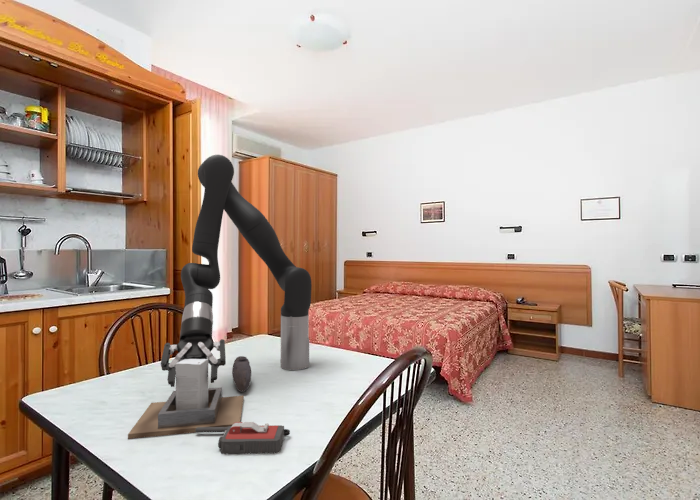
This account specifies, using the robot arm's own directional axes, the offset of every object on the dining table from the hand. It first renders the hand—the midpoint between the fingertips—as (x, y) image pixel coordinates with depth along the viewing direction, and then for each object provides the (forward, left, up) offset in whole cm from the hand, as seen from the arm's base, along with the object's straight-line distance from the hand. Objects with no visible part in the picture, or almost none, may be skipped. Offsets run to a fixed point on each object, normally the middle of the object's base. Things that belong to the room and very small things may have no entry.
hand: (192, 383), depth 85 cm
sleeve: (0, -1, -8) cm, 8 cm away
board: (0, -1, -8) cm, 8 cm away
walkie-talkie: (-11, +13, -9) cm, 19 cm away
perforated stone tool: (-10, -19, -9) cm, 23 cm away
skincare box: (0, -1, -7) cm, 8 cm away
